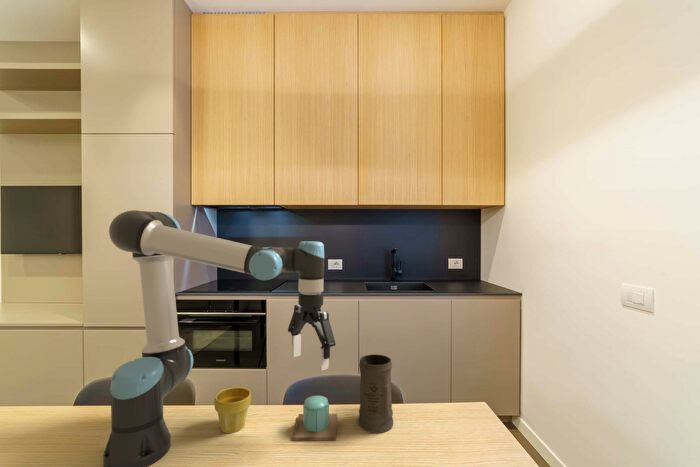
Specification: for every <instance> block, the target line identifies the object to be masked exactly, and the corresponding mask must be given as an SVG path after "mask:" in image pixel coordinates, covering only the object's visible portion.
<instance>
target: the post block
mask: <svg viewBox="0 0 700 467" xmlns="http://www.w3.org/2000/svg"><path fill="white" fill-rule="evenodd" d="M337 422H338V413H329V425H328V427H327V428H326V429H325V430H322V431H319V432H312V431H307V430H306V429H305V427H304V426H303V413H298V416H297V419H296V424H295V428H294V431H293V435H292V441H293V442H300V441H301V442H304V441H305V442H307V441H308V442H311V441H313V442H317V441H319V442H321V441H324V442H326V441H330V442H333V441H334V442H335V441H336V438H337V425H338V423H337Z"/></svg>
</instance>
